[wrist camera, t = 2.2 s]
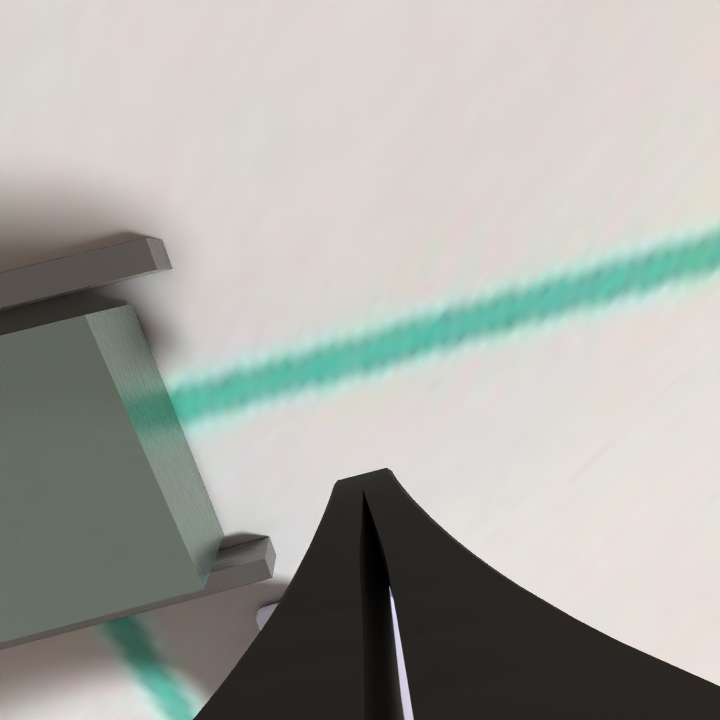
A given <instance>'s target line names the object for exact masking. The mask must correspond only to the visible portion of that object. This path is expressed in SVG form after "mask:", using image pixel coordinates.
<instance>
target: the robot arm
mask: <svg viewBox="0 0 720 720" xmlns="http://www.w3.org/2000/svg"><path fill="white" fill-rule="evenodd" d="M390 590H391V591H390ZM256 622H257V625H258V627H259V630H260V632H259V634H258V635H257V637H256V638H255V640H254V641H253V642H252V644H251V645H250V647H249V648H248V650H247V651H246V652H245V654H244V655H243V656H242V658H241V659H240V660H239V662H238V663H237V665H236V666H235V667H234V669H233V670H232V671H231V673H230V674H229V675H228V677H227V678H226V680H225V681H224V682H223V683H222V685H221V686H220V687H219V689H218V690H217V691H216V692H215V693H214V695H213V696H212V697H211V698H210V700H209V701H208V702H207V703H206V705H205V706H204V707H203V708H202V709H201V711H200V712H199V713H198V714H197V716H196V717H195V718H194V719H193V720H720V686H718V685H716V684H713V683H711V682H709V681H707V680H704V679H702V678H700V677H698V676H696V675H693V674H691V673H689V672H687V671H684V670H682V669H680V668H678V667H675V666H673V665H671V664H669V663H666V662H664V661H662V660H660V659H657V658H655V657H653V656H651V655H648V654H646V653H644V652H642V651H639V650H637V649H635V648H633V647H630V646H628V645H626V644H624V643H622V642H620V641H618V640H616V639H613V638H611V637H609V636H608V635H606V634H604V633H602V632H600V631H598V630H596V629H594V628H592V627H590V626H588V625H586V624H584V623H582V622H581V621H579V620H577V619H575V618H573V617H572V616H570V615H568V614H566V613H565V612H563V611H561V610H560V609H558V608H556V607H554V606H553V605H551V604H549V603H548V602H546V601H544V600H543V599H541V598H539V597H537V596H536V595H534V594H532V593H531V592H529V591H527V590H525V589H524V588H522V587H520V586H519V585H517V584H516V583H514V582H513V581H511V580H510V579H508V578H507V577H505V576H504V575H502V574H501V573H499V572H498V571H497V570H495V569H494V568H492V567H491V566H489V565H488V564H487V563H485V562H484V561H483V560H481V559H480V558H478V557H477V556H476V555H474V554H473V553H472V552H471V551H469V550H468V549H467V548H465V547H464V546H463V545H462V544H460V543H459V542H458V541H457V540H456V539H454V538H453V537H452V536H451V535H450V534H449V533H448V532H446V531H445V530H444V529H443V528H442V527H441V526H440V525H439V524H437V523H436V522H435V521H434V520H433V519H432V518H431V517H430V516H429V515H428V514H427V513H426V512H425V511H424V510H423V509H422V508H421V507H420V506H419V505H418V504H417V503H416V502H415V501H414V500H413V499H412V497H411V496H410V495H409V494H408V493H407V492H406V490H405V489H404V488H403V487H402V486H401V484H400V483H399V482H398V480H397V479H396V477H395V476H394V474H393V472H392V471H391V470H389V469H388V468H384V469H380V470H376V471H372V472H369V473H365V474H361V475H357V476H353V477H349V478H345V479H342V480H338V481H337V482H336V483H335V485H334V487H333V490H332V493H331V496H330V499H329V502H328V504H327V507H326V510H325V512H324V515H323V517H322V520H321V522H320V524H319V526H318V529H317V531H316V533H315V535H314V538H313V540H312V542H311V544H310V546H309V548H308V550H307V552H306V554H305V556H304V558H303V560H302V562H301V564H300V566H299V568H298V570H297V571H296V573H295V575H294V577H293V579H292V581H291V583H290V584H289V586H288V588H287V590H286V591H285V593H284V595H283V596H282V598H281V600H280V601H279V603H277V604H273V605H269V606H266V607H262V608H260V609H259V610H258V612H257V615H256Z"/></svg>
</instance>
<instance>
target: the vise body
mask: <svg viewBox="0 0 720 720" xmlns="http://www.w3.org/2000/svg"><path fill="white" fill-rule="evenodd" d="M168 269H172V266H171V263H170V261H169V258H168V255H167V252H166V250H165V247H164V244H163V241H162V240H160V239H151V238H143V239H139V240H135V241H131V242H127V243H122V244H118V245H114V246H110V247H106V248H102V249H98V250H94V251H89V252H85V253H81V254H77V255H73V256H69V257H65V258H61V259H56V260H52V261H48V262H44V263H40V264H36V265H32V266H28V267H24V268H19V269H15V270H11V271H7V272H3V273H0V311H1V310H5V309H9V308H13V307H17V306H21V305H25V304H30V303H34V302H38V301H42V300H46V299H50V298H54V297H58V296H62V295H66V294H70V293H74V292H79V291H83V290H87V289H91V288H95V287H99V286H103V285H107V284H111V283H115V282H119V281H123V280H128V279H132V278H136V277H140V276H144V275H148V274H152V273H156V272H160V271H164V270H168ZM275 558H276V554H275V551H274V548H273V546H272V543H271V540H270V537H267V538H263V539H259V540H255V541H252V542H248V543H244V544H240V545H236V546H232V547H229V548H225V549H221V550H218V553H217V556H216V559H215V561H214V564H213V567H212V569H211V572H210V575H209V578H208V580H207V583H206V586H205V588H204V589H202V590H199V591H195V592H191V593H187V594H183V595H180V596H176V597H172V598H168V599H164V600H161V601H157V602H153V603H149V604H146V605H142V606H138V607H134V608H130V609H127V610H123V611H119V612H115V613H111V614H108V615H104V616H100V617H96V618H92V619H89V620H85V621H81V622H77V623H73V624H70V625H66V626H62V627H58V628H54V629H51V630H47V631H43V632H39V633H35V634H32V635H28V636H24V637H20V638H16V639H13V640H9V641H5V642H1V643H0V650H1V649H5V648H8V647H12V646H16V645H20V644H24V643H27V642H31V641H35V640H39V639H43V638H46V637H50V636H54V635H58V634H62V633H65V632H69V631H73V630H77V629H80V628H84V627H88V626H92V625H96V624H99V623H103V622H107V621H111V620H115V619H118V618H122V617H126V616H130V615H134V614H137V613H141V612H145V611H149V610H152V609H156V608H160V607H164V606H168V605H171V604H175V603H179V602H183V601H187V600H190V599H194V598H198V597H202V596H206V595H209V594H213V593H217V592H221V591H224V590H228V589H232V588H236V587H240V586H243V585H247V584H251V583H255V582H259V581H262V580H266V579H270V578H272V576H273V570H274V564H275Z"/></svg>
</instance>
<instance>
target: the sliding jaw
mask: <svg viewBox="0 0 720 720" xmlns="http://www.w3.org/2000/svg"><path fill="white" fill-rule="evenodd" d="M223 537H224V533H223V531H222V528H221V526H220V523H219V521H218V518H217V516H216V513H215V511H214V508H213V506H212V503H211V501H210V498H209V496H208V493H207V491H206V488H205V486H204V483H203V481H202V478H201V476H200V473H199V471H198V468H197V466H196V463H195V461H194V458H193V456H192V453H191V451H190V448H189V446H188V443H187V441H186V438H185V436H184V433H183V431H182V428H181V426H180V423H179V421H178V418H177V416H176V413H175V411H174V408H173V406H172V403H171V401H170V398H169V396H168V393H167V391H166V388H165V386H164V383H163V381H162V378H161V376H160V373H159V371H158V368H157V366H156V363H155V361H154V358H153V356H152V353H151V351H150V348H149V346H148V343H147V341H146V338H145V336H144V333H143V331H142V328H141V326H140V323H139V321H138V318H137V316H136V313H135V311H134V308H133V306H132V304H129V305H124V306H120V307H116V308H112V309H107V310H103V311H99V312H95V313H90V314H86V315H82V316H78V317H74V318H70V319H66V320H62V321H58V322H53V323H49V324H45V325H41V326H37V327H33V328H29V329H25V330H21V331H17V332H13V333H9V334H5V335H1V336H0V643H1V642H5V641H9V640H13V639H16V638H20V637H24V636H28V635H32V634H35V633H39V632H43V631H47V630H51V629H54V628H58V627H62V626H66V625H70V624H73V623H77V622H81V621H85V620H89V619H92V618H96V617H100V616H104V615H108V614H111V613H115V612H119V611H123V610H127V609H130V608H134V607H138V606H142V605H146V604H149V603H153V602H157V601H161V600H164V599H168V598H172V597H176V596H180V595H183V594H187V593H191V592H195V591H199V590H202V589H204V588H205V586H206V583H207V580H208V578H209V575H210V572H211V569H212V567H213V564H214V561H215V559H216V556H217V553H218V550H219V548H220V545H221V542H222V539H223Z"/></svg>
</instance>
